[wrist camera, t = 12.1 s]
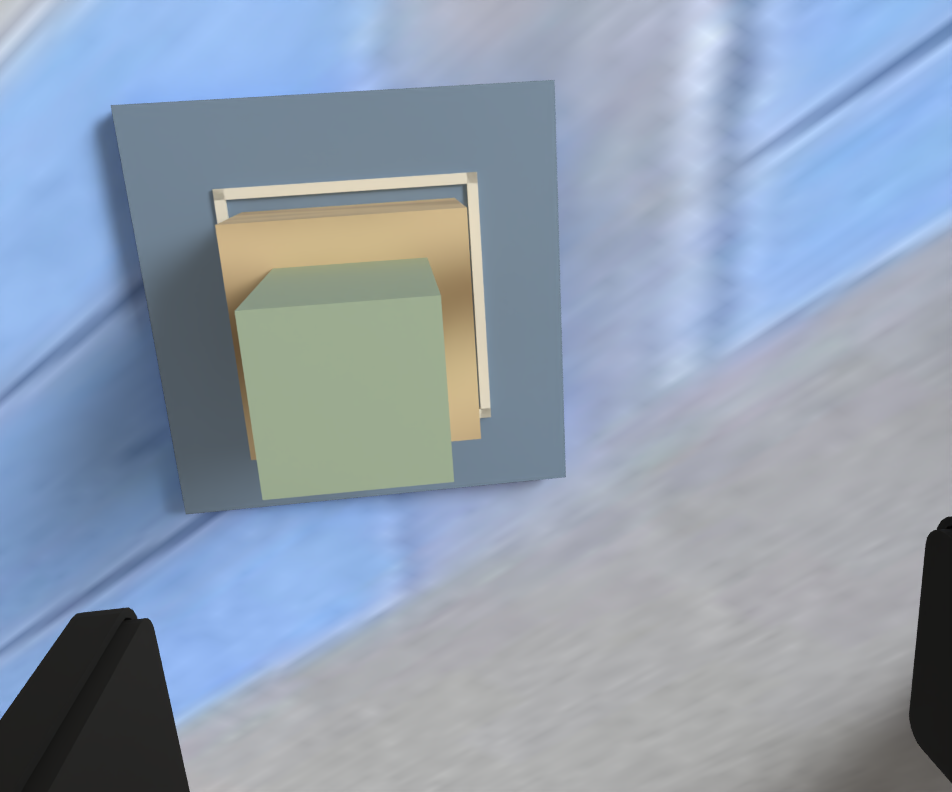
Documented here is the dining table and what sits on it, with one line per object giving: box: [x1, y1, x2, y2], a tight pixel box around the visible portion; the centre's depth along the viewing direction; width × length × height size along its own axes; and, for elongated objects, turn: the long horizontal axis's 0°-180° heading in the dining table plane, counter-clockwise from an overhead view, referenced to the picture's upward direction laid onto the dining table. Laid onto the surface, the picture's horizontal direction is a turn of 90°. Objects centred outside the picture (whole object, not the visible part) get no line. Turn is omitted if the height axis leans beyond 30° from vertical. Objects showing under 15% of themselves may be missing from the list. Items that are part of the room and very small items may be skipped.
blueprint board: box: [111, 80, 566, 514], centre depth 32 cm, size 16×16×1 cm
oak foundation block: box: [215, 198, 481, 460], centre depth 30 cm, size 8×8×5 cm
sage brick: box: [235, 258, 454, 500], centre depth 24 cm, size 5×5×7 cm
